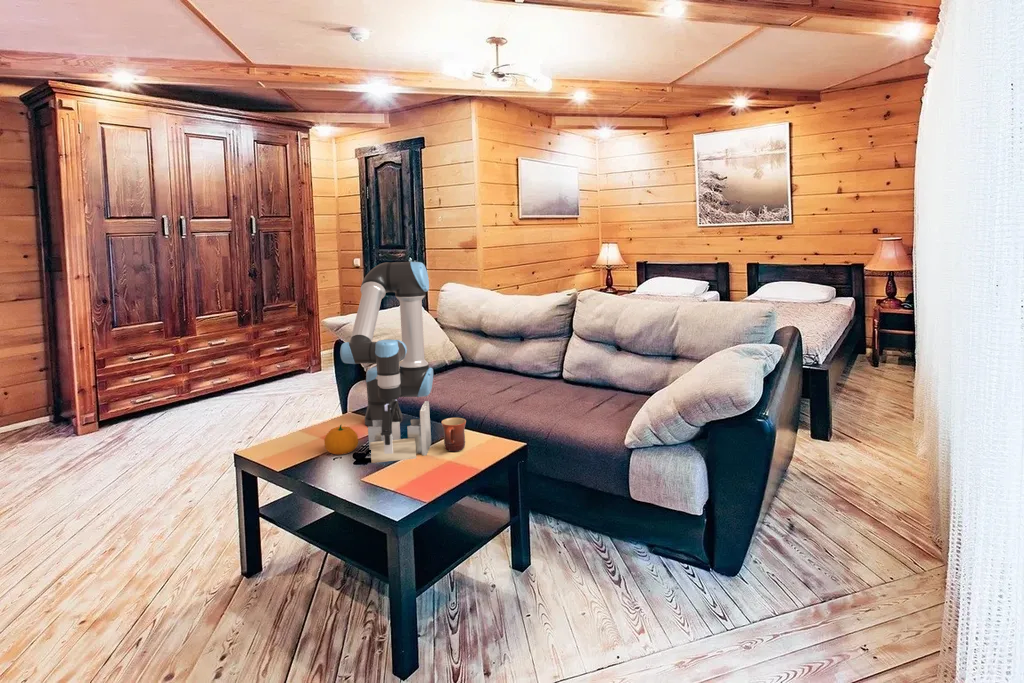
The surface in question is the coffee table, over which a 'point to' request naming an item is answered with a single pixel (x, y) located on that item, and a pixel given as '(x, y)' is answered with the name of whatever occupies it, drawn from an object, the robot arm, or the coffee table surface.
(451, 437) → the mug
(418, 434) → the cup bracket
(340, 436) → the fruit
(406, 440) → the light wooden block
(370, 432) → the saddle post
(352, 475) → the coffee table surface
